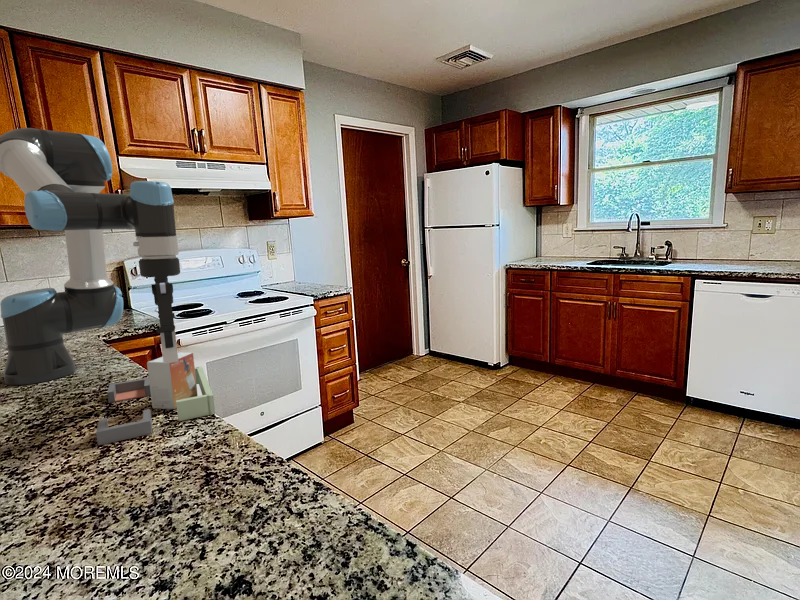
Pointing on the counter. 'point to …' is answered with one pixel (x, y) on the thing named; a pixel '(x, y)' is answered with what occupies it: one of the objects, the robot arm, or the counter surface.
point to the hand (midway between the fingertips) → (169, 354)
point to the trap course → (141, 389)
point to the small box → (172, 381)
